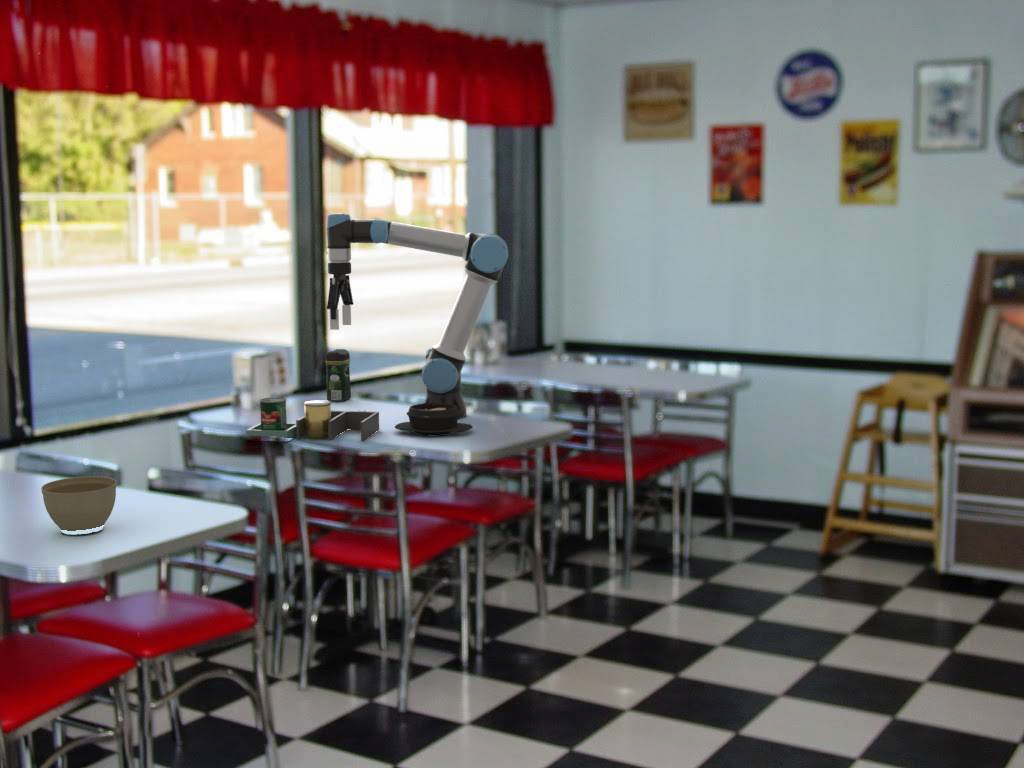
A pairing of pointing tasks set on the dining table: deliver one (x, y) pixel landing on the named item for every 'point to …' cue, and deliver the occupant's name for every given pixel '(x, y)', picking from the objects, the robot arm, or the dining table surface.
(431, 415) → the casserole
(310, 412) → the ochre can
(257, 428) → the tray
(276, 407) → the canned tomato
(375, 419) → the clip rack
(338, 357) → the coffee jar
